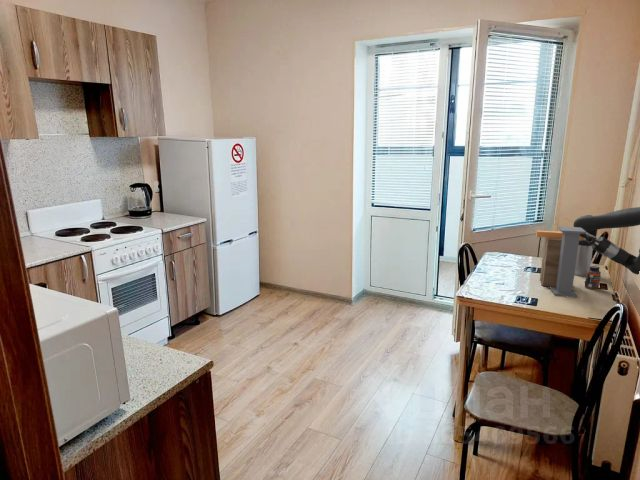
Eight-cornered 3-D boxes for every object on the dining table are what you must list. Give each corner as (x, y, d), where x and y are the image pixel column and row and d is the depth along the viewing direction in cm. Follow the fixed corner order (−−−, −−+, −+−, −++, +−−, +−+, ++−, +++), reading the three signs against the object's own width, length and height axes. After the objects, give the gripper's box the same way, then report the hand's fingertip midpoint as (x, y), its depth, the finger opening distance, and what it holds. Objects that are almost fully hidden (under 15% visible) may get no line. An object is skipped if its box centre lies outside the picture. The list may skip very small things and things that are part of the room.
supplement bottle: (591, 290, 215) (594, 268, 212) (581, 286, 220) (584, 265, 218) (601, 289, 216) (604, 267, 214) (591, 285, 222) (594, 264, 219)
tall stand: (550, 288, 218) (557, 226, 210) (572, 290, 215) (581, 227, 207) (554, 295, 209) (562, 230, 201) (577, 297, 205) (586, 231, 198)
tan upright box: (539, 280, 231) (545, 235, 225) (564, 282, 227) (570, 236, 221) (542, 286, 221) (548, 239, 216) (568, 288, 218) (575, 240, 212)
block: (535, 235, 223) (536, 230, 223) (583, 238, 216) (584, 233, 216) (536, 237, 221) (537, 231, 220) (585, 240, 214) (585, 234, 213)
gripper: (606, 238, 218) (577, 221, 220) (615, 245, 205) (584, 226, 207) (596, 250, 221) (567, 233, 223) (604, 257, 207) (574, 239, 210)
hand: (575, 230), depth 215 cm, fingers open, 8 cm apart
